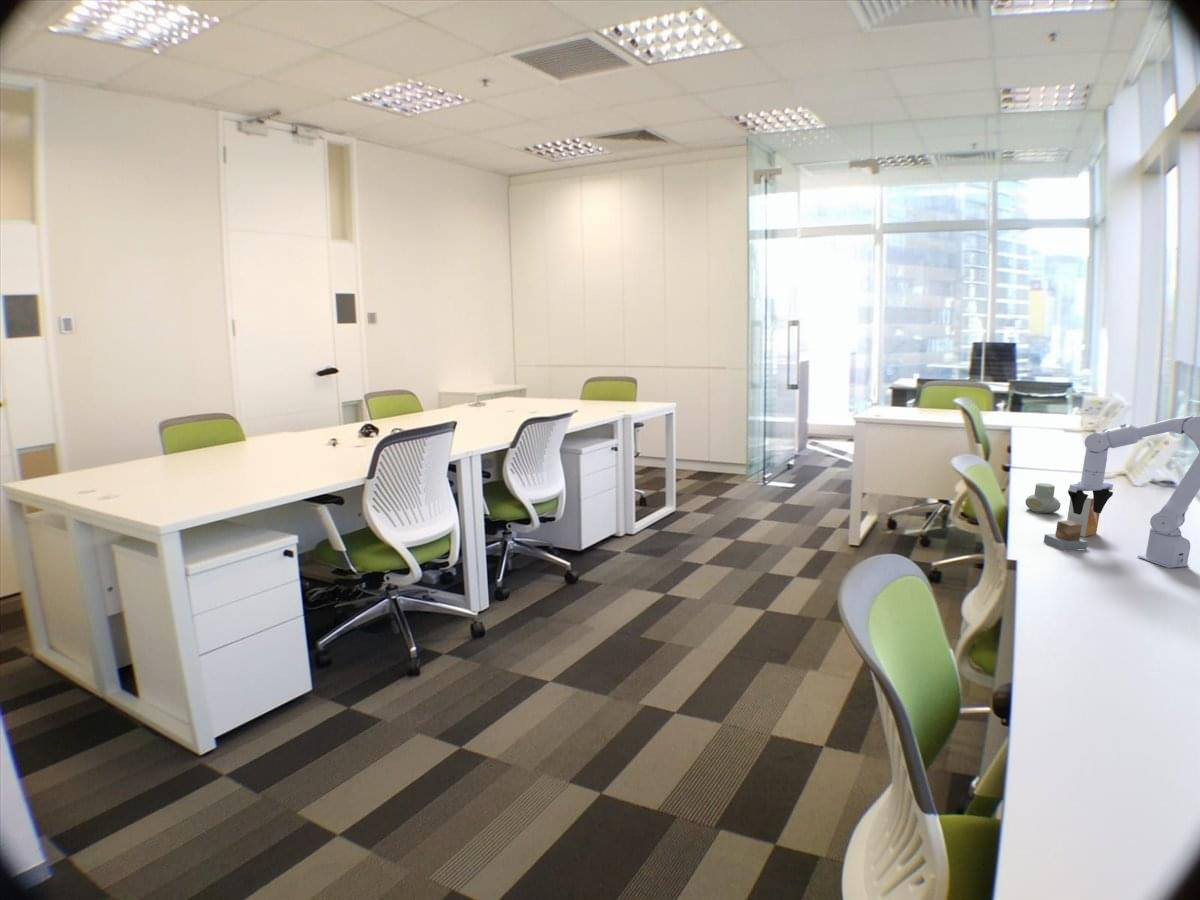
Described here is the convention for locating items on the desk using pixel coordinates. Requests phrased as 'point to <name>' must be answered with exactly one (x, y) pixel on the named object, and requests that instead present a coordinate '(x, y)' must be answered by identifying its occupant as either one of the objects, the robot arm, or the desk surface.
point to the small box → (1085, 516)
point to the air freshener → (1043, 499)
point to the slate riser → (1064, 543)
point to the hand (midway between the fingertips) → (1087, 513)
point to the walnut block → (1068, 530)
